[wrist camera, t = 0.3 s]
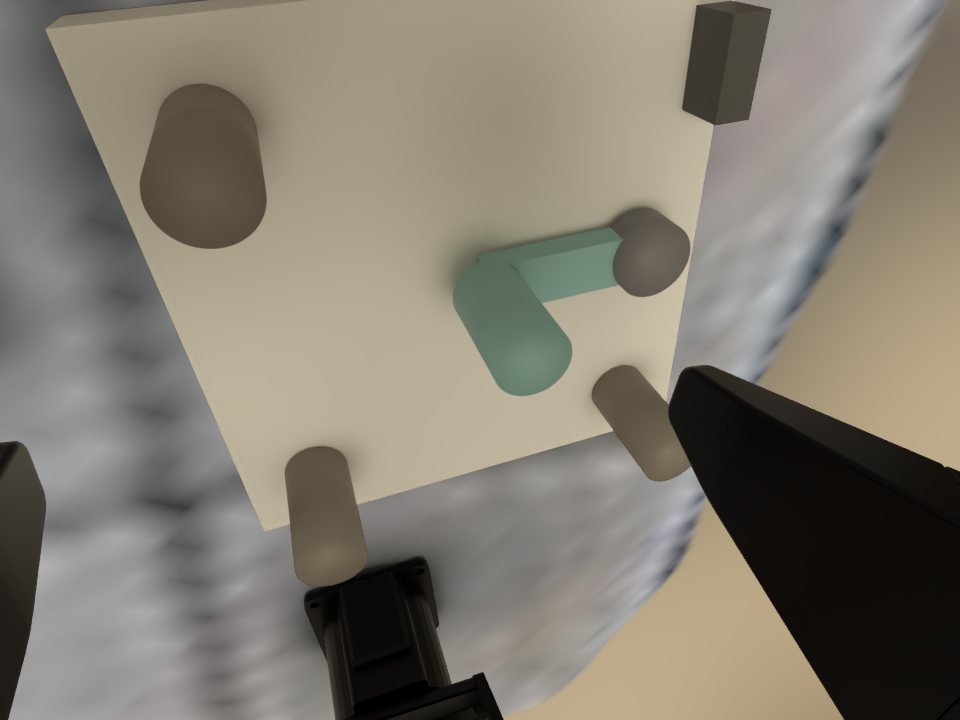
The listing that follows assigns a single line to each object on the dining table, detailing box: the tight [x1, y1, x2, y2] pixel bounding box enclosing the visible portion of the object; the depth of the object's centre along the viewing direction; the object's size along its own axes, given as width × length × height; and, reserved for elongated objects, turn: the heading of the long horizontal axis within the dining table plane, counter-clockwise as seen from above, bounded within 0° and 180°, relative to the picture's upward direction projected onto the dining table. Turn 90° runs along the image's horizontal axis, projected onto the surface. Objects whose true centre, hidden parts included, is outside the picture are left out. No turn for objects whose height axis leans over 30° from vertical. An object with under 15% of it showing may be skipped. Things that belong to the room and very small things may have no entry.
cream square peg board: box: [45, 0, 771, 586], centre depth 21 cm, size 18×18×6 cm
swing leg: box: [453, 208, 690, 396], centre depth 20 cm, size 9×3×5 cm, turn 93°
